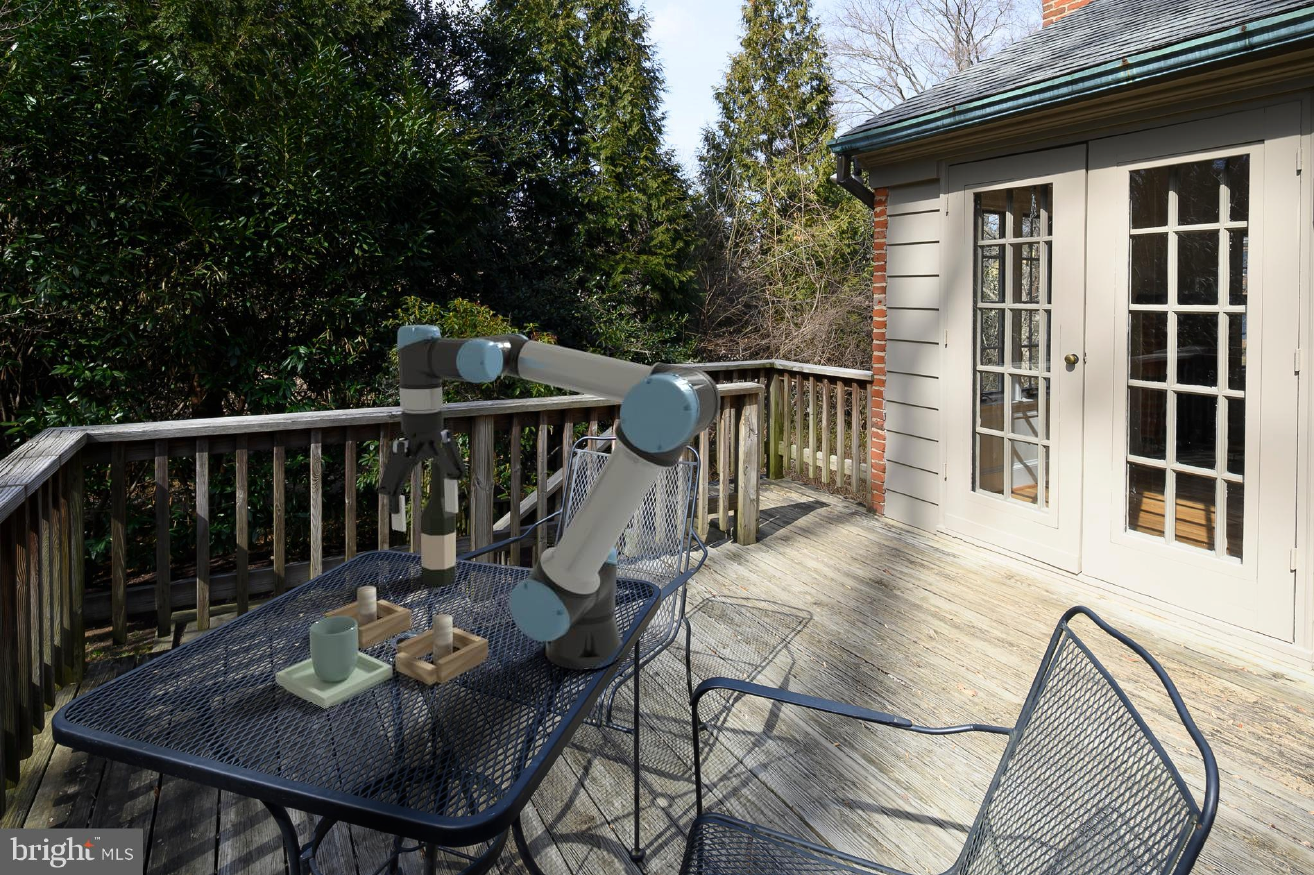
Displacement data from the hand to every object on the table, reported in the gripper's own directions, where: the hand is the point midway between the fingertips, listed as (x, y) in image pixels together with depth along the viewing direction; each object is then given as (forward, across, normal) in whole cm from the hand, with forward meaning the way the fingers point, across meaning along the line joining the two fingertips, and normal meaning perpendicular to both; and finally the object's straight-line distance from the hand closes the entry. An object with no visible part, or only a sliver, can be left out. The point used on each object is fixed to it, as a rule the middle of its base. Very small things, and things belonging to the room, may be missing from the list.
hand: (426, 520), depth 151 cm
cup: (+26, +17, -6) cm, 32 cm away
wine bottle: (+26, -28, -25) cm, 46 cm away
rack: (+27, +1, -6) cm, 28 cm away
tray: (+27, +18, -6) cm, 33 cm away
